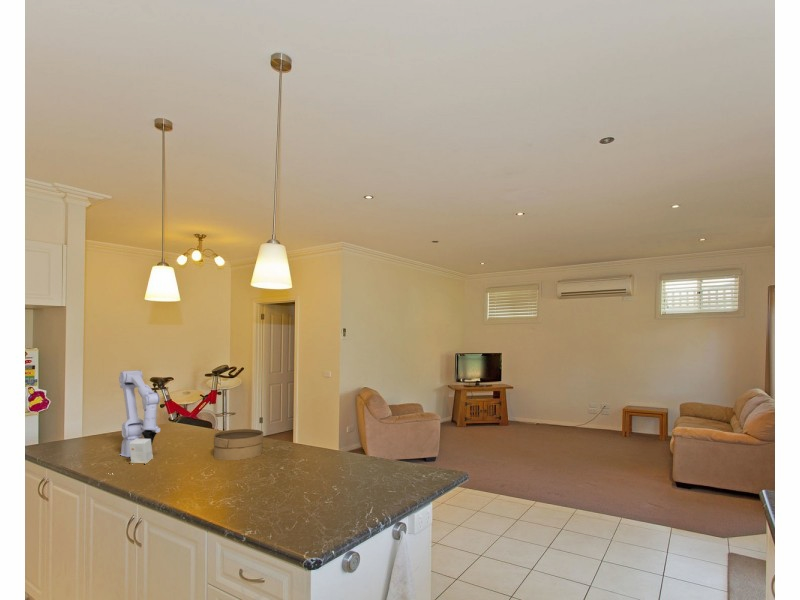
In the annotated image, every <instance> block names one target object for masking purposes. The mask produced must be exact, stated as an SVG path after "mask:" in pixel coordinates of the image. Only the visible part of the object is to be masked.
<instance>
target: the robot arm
mask: <svg viewBox="0 0 800 600" xmlns="http://www.w3.org/2000/svg"><path fill="white" fill-rule="evenodd" d="M143 373H144V372H143V371H142V370H141V369H138V370H122V371H120V374H119V375H118V381H119V386H120V387H119V388H120V389H122V390H123V398H124V405H125V413H126V421H124V422H123V423H122V425H121V435H122V438H123V439H122V441H121V451H120V453H119V456H120V455H121V457H125V458H129V457H130V458H131V456H130V448H129V443H130V442H132V441H133V440H135V439H136V438H139V439H142V438H143V439H151V445H153V443H154V439H155V437H156V435H158V433H160V432H161V427H159V425H157V420H158V419H157V417H158V416H157V415H158V405H159V404H160V401H161V400H160V399H161V397H160V394H159V393H158V392H154V391H153V389H152V388H151V386H150V385H148V384H146V383H145V381H144V379H143V377H144V375H143ZM135 388H137V389H138V390H137V393H138V395H139V396H140V397H141V401H142V402H141V403H142V409H143V419H141V418H140V417H139V414H138V407H137V401H136V393H135Z"/></svg>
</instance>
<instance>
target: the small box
mask: <svg viewBox="0 0 800 600" xmlns="http://www.w3.org/2000/svg"><path fill="white" fill-rule="evenodd" d="M152 445H153V444H152ZM152 445H151V439H145V438H141V439H139V438H136V439H135V440H133V441H132V442H130V443H129V448H130V456H131V457H130V462H131V463H145V464H146V463H148V462H149V461H150V460H151V459H154V455H153V446H152Z"/></svg>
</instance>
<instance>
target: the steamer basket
mask: <svg viewBox="0 0 800 600" xmlns="http://www.w3.org/2000/svg"><path fill="white" fill-rule="evenodd" d="M263 442H264V431H263V430H261V429H259V430H258V429H254V428H252V429H251V428H250V429H249V428H240V429H230V430H223V431H218V432H216V433H215V434H214V435H213V458H214V459H215V458H216V459H215V460H218V459H221V460H220V461H224V460H238V461H241V460H240V459H247V458H252V457H255V456H258V455H260V454H261V453H262V454H263ZM262 454H261V455H262ZM261 455H260V456H261ZM258 457H259V456H258ZM252 459H253V458H252ZM247 460H248V459H247Z"/></svg>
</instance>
